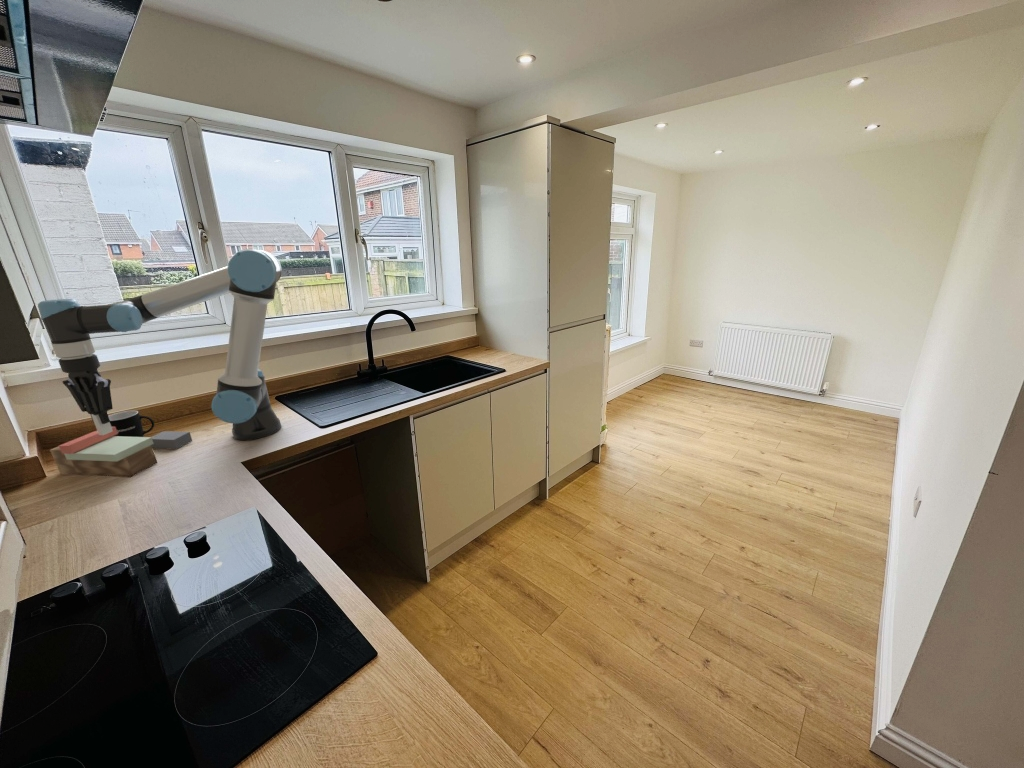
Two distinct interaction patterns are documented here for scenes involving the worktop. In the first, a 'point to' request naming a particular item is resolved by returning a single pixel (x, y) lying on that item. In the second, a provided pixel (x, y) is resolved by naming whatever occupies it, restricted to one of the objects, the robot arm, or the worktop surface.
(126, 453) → the lid
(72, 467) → the toolbox
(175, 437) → the lid rest
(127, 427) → the mug
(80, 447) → the red rectangular bar
